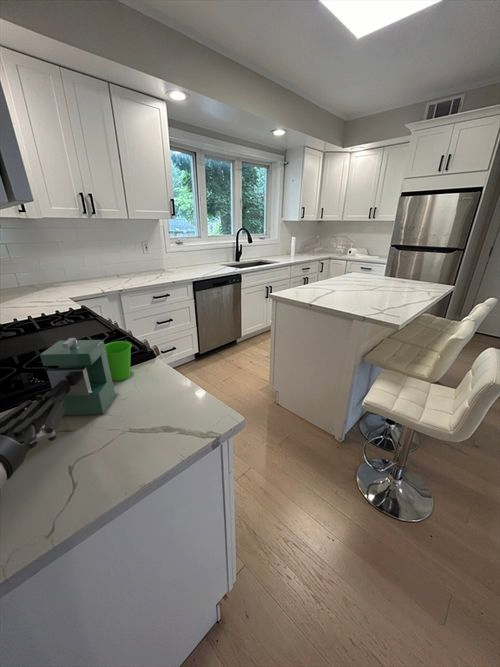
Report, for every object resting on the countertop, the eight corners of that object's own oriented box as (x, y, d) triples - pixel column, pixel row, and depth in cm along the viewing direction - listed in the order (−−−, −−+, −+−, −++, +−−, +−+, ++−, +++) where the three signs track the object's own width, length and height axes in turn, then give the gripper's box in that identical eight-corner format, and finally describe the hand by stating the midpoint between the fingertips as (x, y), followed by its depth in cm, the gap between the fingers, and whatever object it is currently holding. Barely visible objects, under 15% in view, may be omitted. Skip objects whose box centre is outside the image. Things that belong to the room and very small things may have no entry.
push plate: (54, 396, 66) (46, 371, 64) (58, 392, 68) (50, 367, 65) (89, 395, 67) (82, 370, 64) (92, 391, 68) (86, 367, 66)
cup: (99, 383, 85) (91, 351, 81) (120, 369, 93) (114, 339, 89) (122, 388, 83) (116, 355, 78) (142, 373, 91) (137, 343, 86)
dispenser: (59, 417, 70) (36, 346, 63) (75, 398, 78) (57, 332, 70) (104, 416, 71) (87, 345, 63) (115, 397, 78) (102, 332, 71)
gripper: (-53, 489, 44) (41, 399, 65) (34, 484, 44) (98, 397, 66) (-74, 453, 41) (32, 371, 62) (20, 449, 42) (91, 370, 63)
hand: (66, 385), depth 64 cm, fingers closed
